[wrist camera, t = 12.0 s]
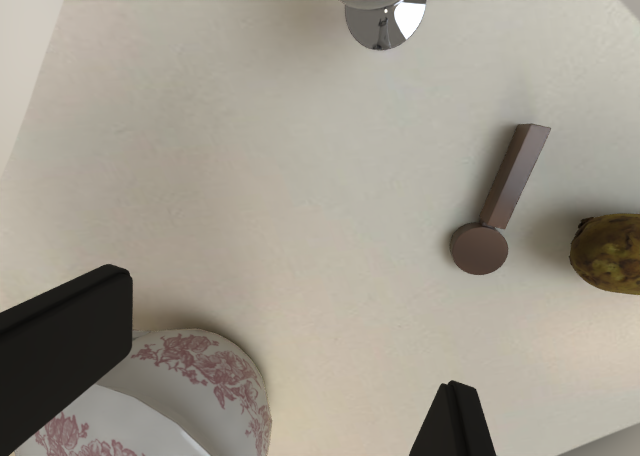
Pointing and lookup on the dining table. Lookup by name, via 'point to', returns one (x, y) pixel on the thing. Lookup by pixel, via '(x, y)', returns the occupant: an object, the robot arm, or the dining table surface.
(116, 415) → the chamber pot
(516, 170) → the wooden spoon
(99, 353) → the robot arm
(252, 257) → the dining table surface
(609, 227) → the potato
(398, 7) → the wine glass
